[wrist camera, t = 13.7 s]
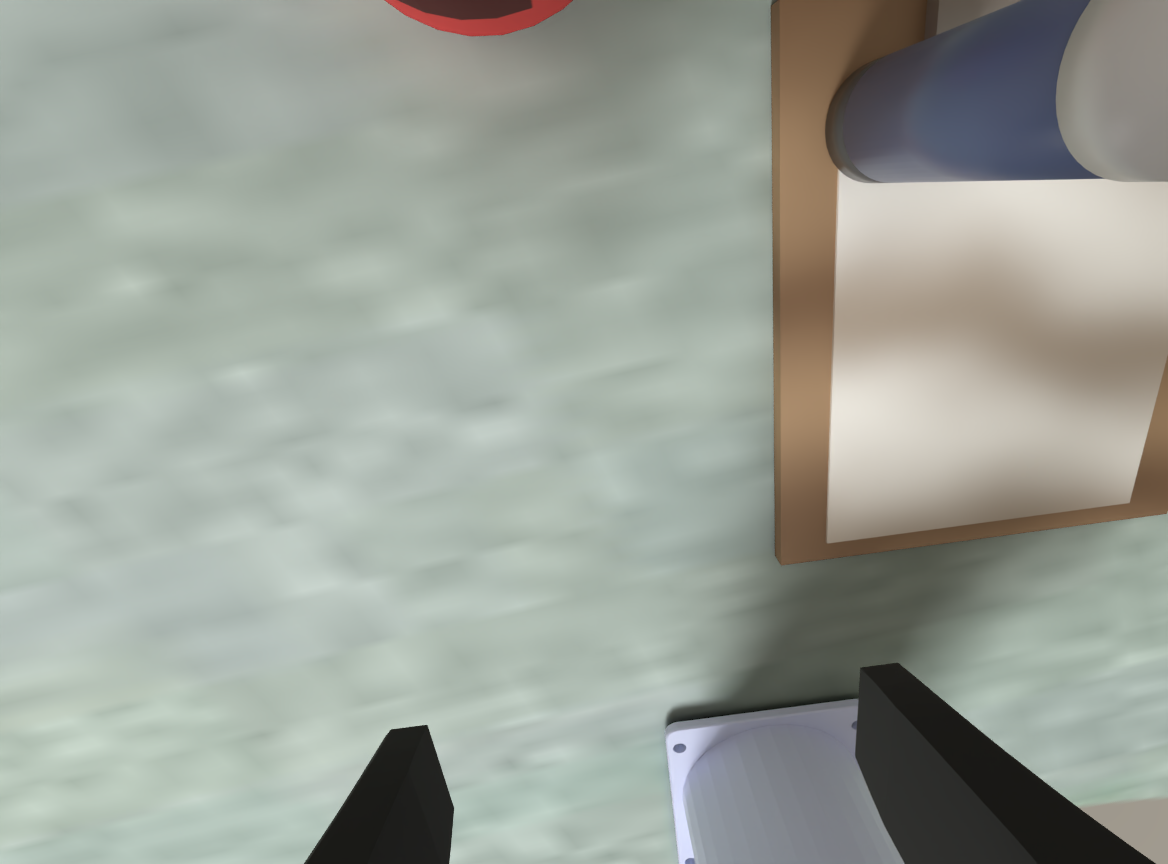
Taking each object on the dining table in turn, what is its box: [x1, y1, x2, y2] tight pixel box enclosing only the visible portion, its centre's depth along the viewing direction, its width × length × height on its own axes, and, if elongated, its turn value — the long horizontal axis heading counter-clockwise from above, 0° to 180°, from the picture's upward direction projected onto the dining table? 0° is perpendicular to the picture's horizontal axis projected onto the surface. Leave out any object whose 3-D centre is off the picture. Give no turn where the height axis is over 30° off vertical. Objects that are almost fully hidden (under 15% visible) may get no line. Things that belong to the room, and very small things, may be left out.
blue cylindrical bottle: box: [825, 0, 1168, 183], centre depth 11 cm, size 3×3×8 cm
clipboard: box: [771, 0, 1168, 565], centre depth 17 cm, size 16×13×1 cm
